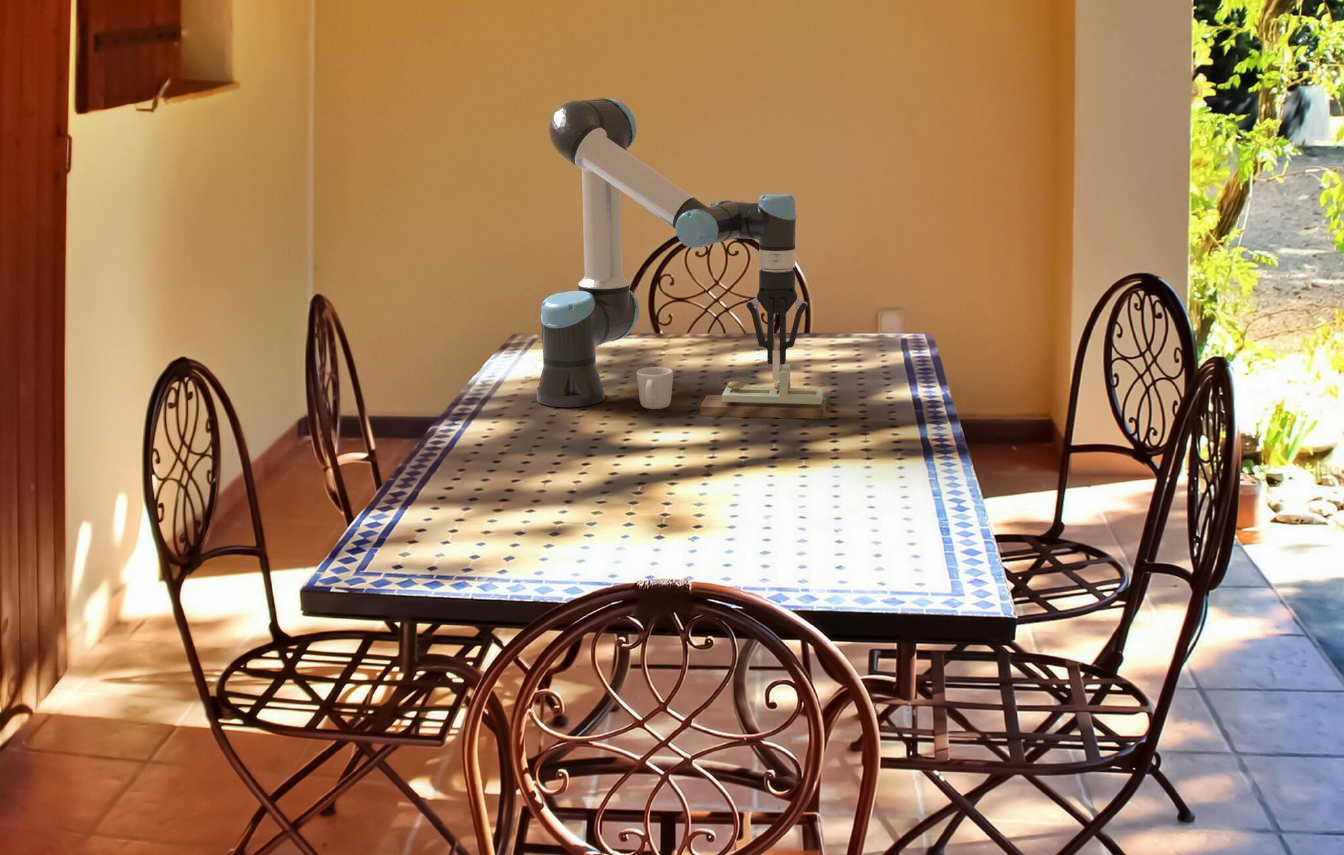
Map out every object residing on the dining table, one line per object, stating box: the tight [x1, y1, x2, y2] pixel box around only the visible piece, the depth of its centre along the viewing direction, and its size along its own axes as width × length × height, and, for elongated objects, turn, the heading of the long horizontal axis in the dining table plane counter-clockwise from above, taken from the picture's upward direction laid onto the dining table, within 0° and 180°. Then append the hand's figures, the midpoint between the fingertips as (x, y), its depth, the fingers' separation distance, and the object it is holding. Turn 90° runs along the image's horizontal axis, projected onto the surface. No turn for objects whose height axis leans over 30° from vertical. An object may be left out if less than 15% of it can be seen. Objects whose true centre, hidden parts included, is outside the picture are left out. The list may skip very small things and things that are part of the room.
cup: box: [636, 366, 674, 410], centre depth 311 cm, size 11×8×8 cm
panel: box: [721, 363, 825, 404], centre depth 306 cm, size 21×8×7 cm, turn 81°
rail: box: [699, 380, 827, 420], centre depth 308 cm, size 26×10×6 cm, turn 81°
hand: (776, 378), depth 306 cm, fingers closed
